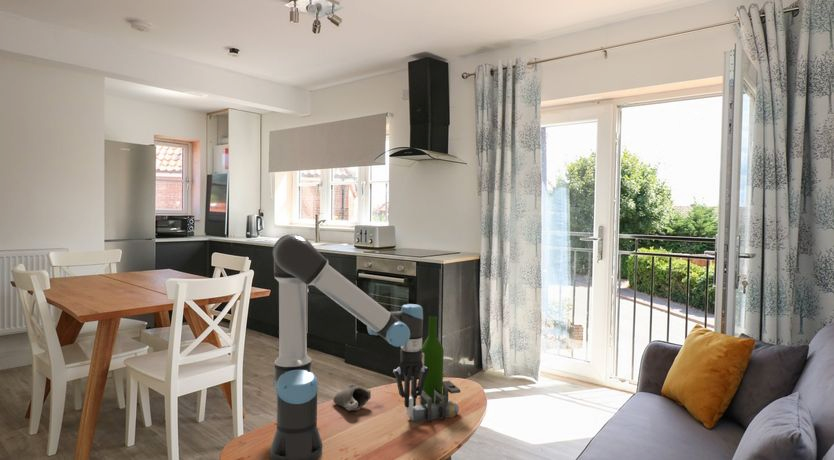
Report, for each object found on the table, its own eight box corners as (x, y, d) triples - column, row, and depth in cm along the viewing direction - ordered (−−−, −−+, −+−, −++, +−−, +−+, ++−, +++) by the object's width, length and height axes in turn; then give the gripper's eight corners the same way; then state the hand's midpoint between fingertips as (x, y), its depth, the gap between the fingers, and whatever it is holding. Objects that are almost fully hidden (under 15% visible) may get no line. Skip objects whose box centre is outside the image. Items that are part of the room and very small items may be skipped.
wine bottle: (416, 396, 192) (418, 315, 191) (437, 394, 194) (439, 314, 193) (423, 405, 183) (425, 319, 182) (445, 402, 186) (447, 318, 185)
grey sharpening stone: (413, 421, 168) (413, 410, 168) (409, 417, 172) (410, 406, 172) (460, 415, 174) (460, 404, 174) (455, 411, 178) (456, 400, 178)
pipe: (339, 430, 178) (365, 418, 171) (322, 415, 176) (347, 403, 168) (355, 394, 192) (380, 382, 184) (339, 380, 190) (363, 367, 182)
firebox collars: (428, 422, 168) (428, 394, 167) (417, 410, 178) (418, 383, 177) (460, 418, 172) (461, 390, 172) (448, 407, 182) (449, 380, 182)
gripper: (396, 353, 163) (395, 422, 164) (432, 350, 168) (430, 417, 169) (390, 347, 171) (389, 413, 171) (424, 345, 175) (423, 409, 176)
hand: (409, 415), depth 170 cm, fingers closed
